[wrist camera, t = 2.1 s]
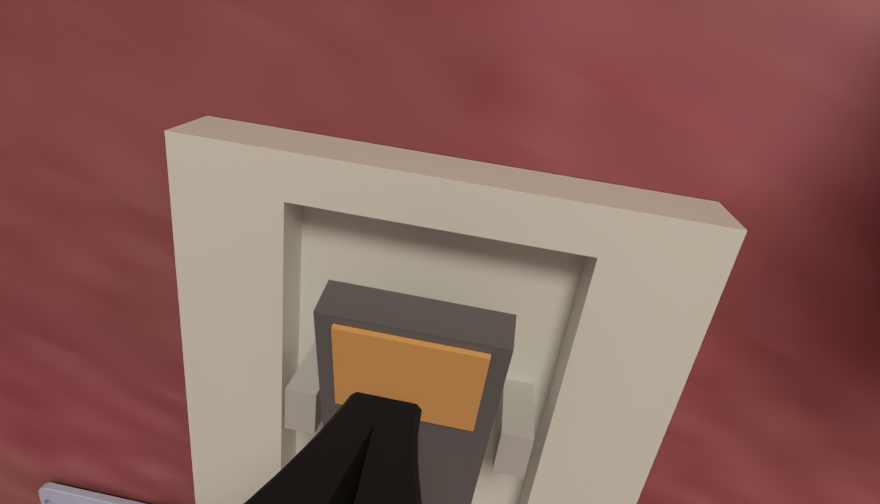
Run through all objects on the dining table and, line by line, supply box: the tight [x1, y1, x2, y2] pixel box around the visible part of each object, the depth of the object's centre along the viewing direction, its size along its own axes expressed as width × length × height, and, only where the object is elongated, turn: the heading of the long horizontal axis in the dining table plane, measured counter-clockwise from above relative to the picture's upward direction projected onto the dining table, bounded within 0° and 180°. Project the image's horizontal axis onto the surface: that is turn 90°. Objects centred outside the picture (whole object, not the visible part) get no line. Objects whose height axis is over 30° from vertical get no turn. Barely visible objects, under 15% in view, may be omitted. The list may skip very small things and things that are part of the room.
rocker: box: [313, 280, 517, 504], centre depth 17 cm, size 11×5×1 cm, turn 172°
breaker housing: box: [165, 116, 747, 504], centre depth 19 cm, size 16×16×4 cm
